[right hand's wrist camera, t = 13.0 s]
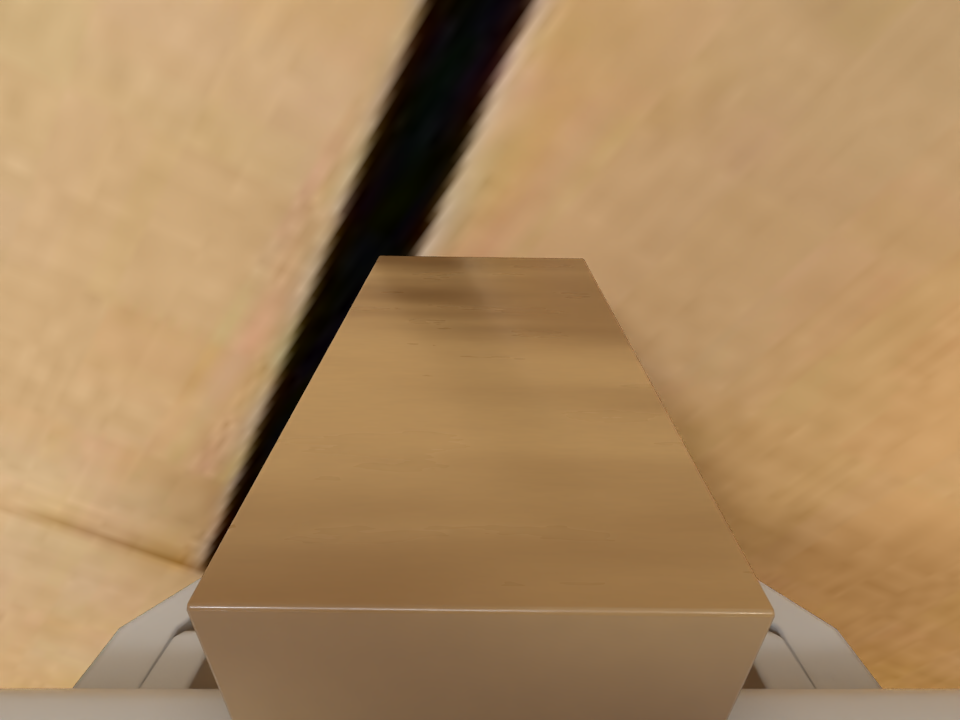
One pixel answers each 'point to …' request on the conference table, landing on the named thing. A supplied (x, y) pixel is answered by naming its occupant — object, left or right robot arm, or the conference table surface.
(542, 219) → the conference table surface
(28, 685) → the conference table surface
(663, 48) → the conference table surface
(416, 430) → the bar
